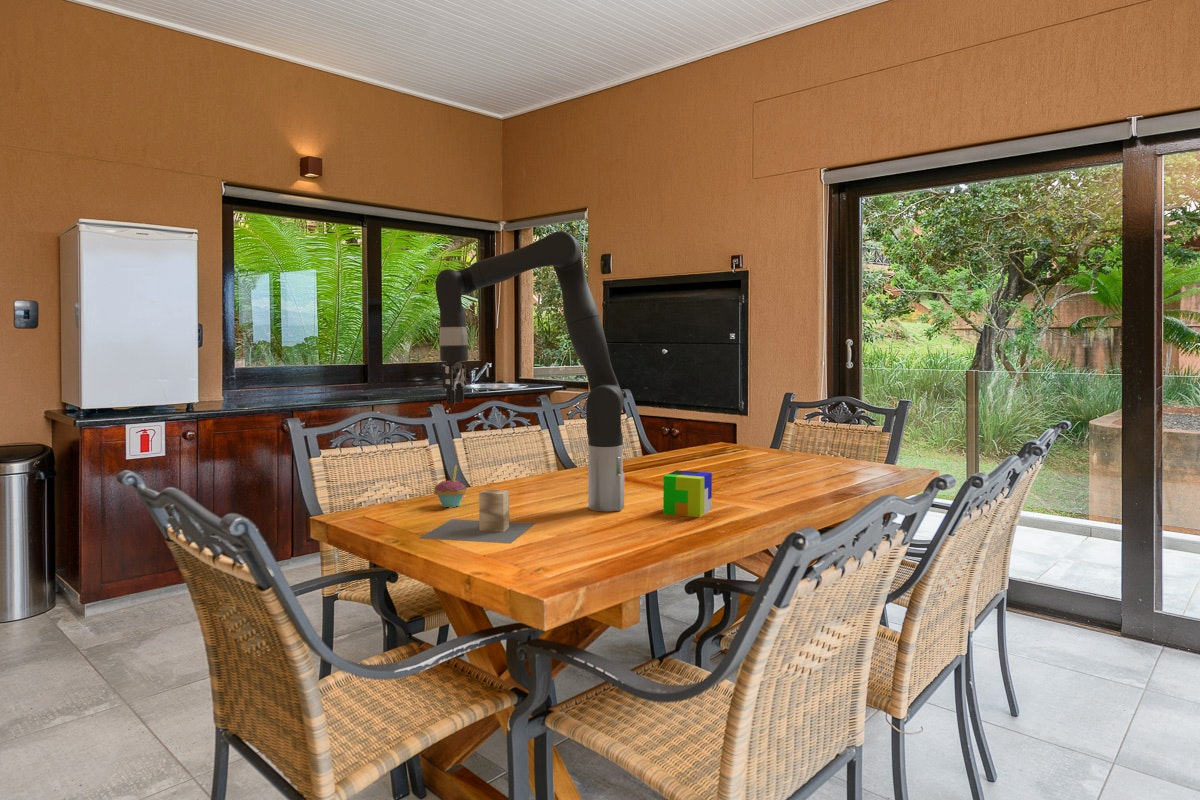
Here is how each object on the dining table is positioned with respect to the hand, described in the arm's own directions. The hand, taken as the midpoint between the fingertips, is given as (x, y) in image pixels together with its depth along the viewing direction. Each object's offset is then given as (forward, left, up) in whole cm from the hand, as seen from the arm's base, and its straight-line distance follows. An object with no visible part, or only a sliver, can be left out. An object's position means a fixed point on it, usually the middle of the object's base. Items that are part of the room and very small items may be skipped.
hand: (455, 403), depth 210 cm
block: (-20, +26, -28) cm, 43 cm away
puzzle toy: (-63, -4, -28) cm, 70 cm away
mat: (-17, +28, -28) cm, 43 cm away
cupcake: (+1, +3, -28) cm, 28 cm away
